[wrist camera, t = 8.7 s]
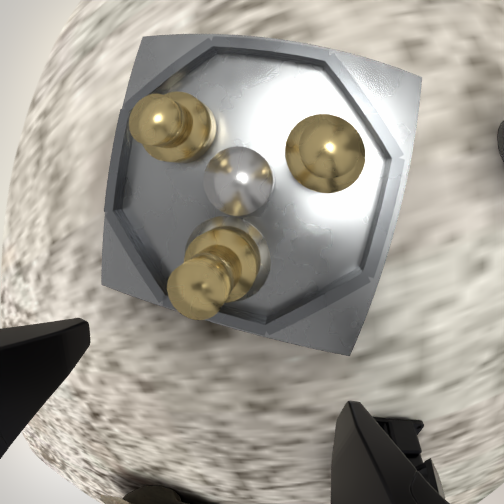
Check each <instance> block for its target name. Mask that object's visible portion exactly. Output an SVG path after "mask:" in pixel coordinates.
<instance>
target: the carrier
mask: <svg viewBox="0 0 504 504" xmlns="http://www.w3.org/2000/svg"><path fill="white" fill-rule="evenodd" d="M421 83H422V77H420V76H417V75H415V74H412V73H410V72H407V71H405V70H402V69H399V68H396V67H393V66H391V65H388V64H385V63H382V62H378V61H375V60H372V59H369V58H365V57H362V56H358V55H355V54H351V53H347V52H343V51H339V50H335V49H330V48H326V47H321V46H316V45H311V44H306V43H300V42H294V41H288V40H281V39H273V38H265V37H255V36H243V35H225V34H176V35H158V36H146V37H143V38H142V41H141V44H140V47H139V50H138V53H137V56H136V59H135V63H134V66H133V69H132V73H131V76H130V80H129V83H128V87H127V91H126V95H125V99H124V103H123V107H122V109H121V110H120V114H119V119H118V123H117V128H116V133H115V138H114V143H113V149H112V155H111V161H110V167H109V174H108V181H107V189H106V197H105V207H104V212H105V220H104V233H103V249H102V285H104V286H107V287H109V288H112V289H115V290H117V291H120V292H123V293H125V294H128V295H131V296H134V297H136V298H139V299H142V300H145V301H148V302H151V303H153V304H156V305H159V306H162V307H165V308H168V309H171V310H174V311H177V310H176V309H175V307H174V306H173V305H172V303H171V301H170V299H169V296H168V292H167V283H168V279H169V277H170V275H171V273H172V272H173V271H174V270H175V269H176V268H177V267H179V266H180V265H181V264H183V263H184V257H185V253H186V250H187V248H188V246H189V245H190V243H191V242H192V241H193V240H194V239H195V238H196V237H198V236H199V235H201V234H203V233H205V232H207V231H209V230H211V229H213V228H215V227H219V226H233V227H237V228H239V229H241V230H243V231H245V232H246V233H247V234H249V235H250V236H251V237H252V238H253V240H254V241H255V243H256V244H257V246H258V249H259V252H260V257H261V265H260V270H259V273H258V275H257V277H256V279H255V281H254V283H253V285H252V287H251V288H250V290H249V291H248V292H247V293H246V294H245V295H244V296H243V297H241V298H240V299H238V300H236V301H233V302H228V303H224V304H223V305H222V307H221V308H220V310H219V311H218V312H217V314H215V315H214V316H213V317H211V318H209V319H205V320H206V321H209V322H213V323H216V324H220V325H223V326H227V327H230V328H234V329H237V330H241V331H244V332H248V333H252V334H256V335H259V336H263V337H267V338H271V339H275V340H279V341H283V342H287V343H291V344H295V345H300V346H304V347H308V348H313V349H317V350H322V351H327V352H332V353H336V354H341V355H346V356H350V354H351V352H352V350H353V347H354V345H355V343H356V340H357V338H358V335H359V333H360V331H361V328H362V326H363V323H364V320H365V318H366V315H367V313H368V310H369V307H370V305H371V302H372V299H373V296H374V294H375V291H376V288H377V285H378V282H379V279H380V276H381V273H382V270H383V267H384V264H385V261H386V258H387V254H388V251H389V248H390V244H391V241H392V237H393V234H394V230H395V227H396V223H397V219H398V215H399V211H400V207H401V203H402V199H403V195H404V191H405V186H406V182H407V177H408V172H409V167H410V162H411V157H412V151H413V145H414V139H415V133H416V126H417V119H418V111H419V103H420V94H421ZM177 312H178V311H177Z"/></svg>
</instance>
